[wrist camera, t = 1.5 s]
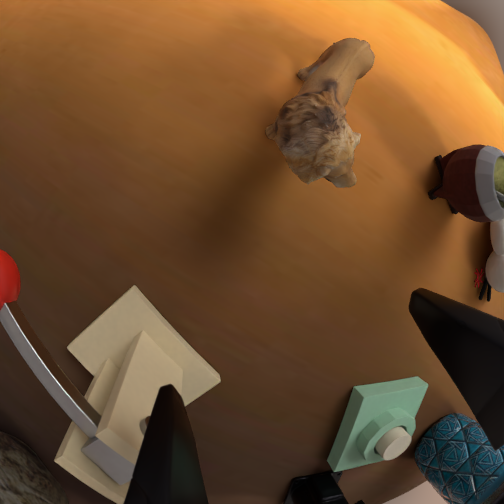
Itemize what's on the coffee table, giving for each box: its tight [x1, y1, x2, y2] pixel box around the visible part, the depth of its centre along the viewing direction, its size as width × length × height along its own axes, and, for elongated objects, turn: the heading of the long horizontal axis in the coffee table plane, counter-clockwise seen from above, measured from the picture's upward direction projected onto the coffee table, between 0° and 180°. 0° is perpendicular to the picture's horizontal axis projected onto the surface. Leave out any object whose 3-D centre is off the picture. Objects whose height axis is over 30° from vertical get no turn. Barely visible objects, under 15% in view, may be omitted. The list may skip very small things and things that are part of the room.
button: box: [375, 426, 411, 460], centre depth 23 cm, size 4×4×2 cm
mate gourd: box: [428, 145, 504, 222], centre depth 18 cm, size 8×8×15 cm
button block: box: [327, 376, 428, 472], centre depth 25 cm, size 11×9×4 cm
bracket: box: [54, 285, 221, 504], centre depth 16 cm, size 10×8×12 cm
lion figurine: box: [265, 38, 375, 187], centre depth 17 cm, size 15×5×9 cm, turn 159°
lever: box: [0, 249, 135, 485], centre depth 11 cm, size 14×4×4 cm, turn 38°
